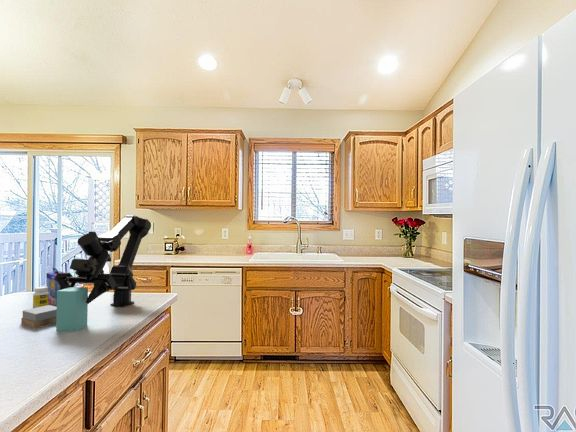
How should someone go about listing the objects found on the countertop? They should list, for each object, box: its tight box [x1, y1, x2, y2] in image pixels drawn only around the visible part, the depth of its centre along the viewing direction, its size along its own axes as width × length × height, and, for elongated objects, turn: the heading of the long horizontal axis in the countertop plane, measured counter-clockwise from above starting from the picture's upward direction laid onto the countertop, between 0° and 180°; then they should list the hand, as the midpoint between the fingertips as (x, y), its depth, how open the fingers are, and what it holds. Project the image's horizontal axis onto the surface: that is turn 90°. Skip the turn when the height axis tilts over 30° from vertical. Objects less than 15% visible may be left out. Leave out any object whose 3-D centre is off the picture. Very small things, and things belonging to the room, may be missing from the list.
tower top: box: [22, 304, 57, 322], centre depth 113 cm, size 8×8×2 cm
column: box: [55, 286, 89, 332], centre depth 108 cm, size 6×6×12 cm
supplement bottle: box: [32, 286, 49, 308], centre depth 128 cm, size 5×5×8 cm
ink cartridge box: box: [46, 267, 64, 306], centre depth 138 cm, size 10×6×14 cm, turn 54°
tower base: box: [20, 317, 57, 329], centre depth 113 cm, size 9×9×2 cm
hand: (73, 302), depth 108 cm, fingers open, 9 cm apart
